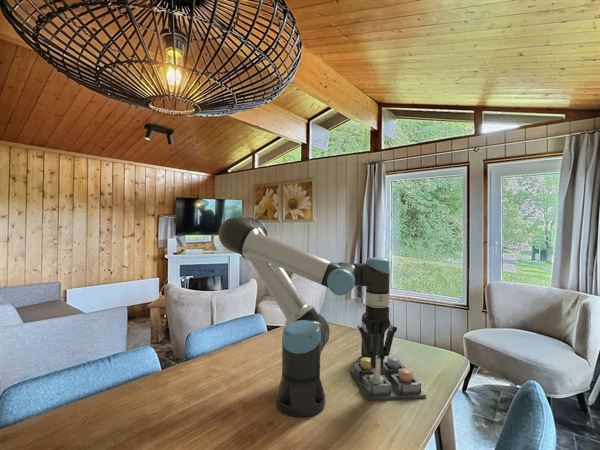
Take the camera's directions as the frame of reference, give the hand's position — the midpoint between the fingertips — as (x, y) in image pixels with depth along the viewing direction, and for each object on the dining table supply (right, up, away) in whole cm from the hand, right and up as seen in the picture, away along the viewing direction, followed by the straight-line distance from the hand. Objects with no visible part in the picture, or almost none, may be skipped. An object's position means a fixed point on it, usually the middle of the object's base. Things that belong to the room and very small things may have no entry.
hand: (376, 377), depth 104 cm
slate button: (+9, -2, +11) cm, 14 cm away
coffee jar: (+5, -5, +26) cm, 27 cm away
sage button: (0, -3, 0) cm, 3 cm away
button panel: (+4, -5, +6) cm, 8 cm away
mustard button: (-1, -2, +10) cm, 10 cm away
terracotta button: (+10, -2, +1) cm, 10 cm away
